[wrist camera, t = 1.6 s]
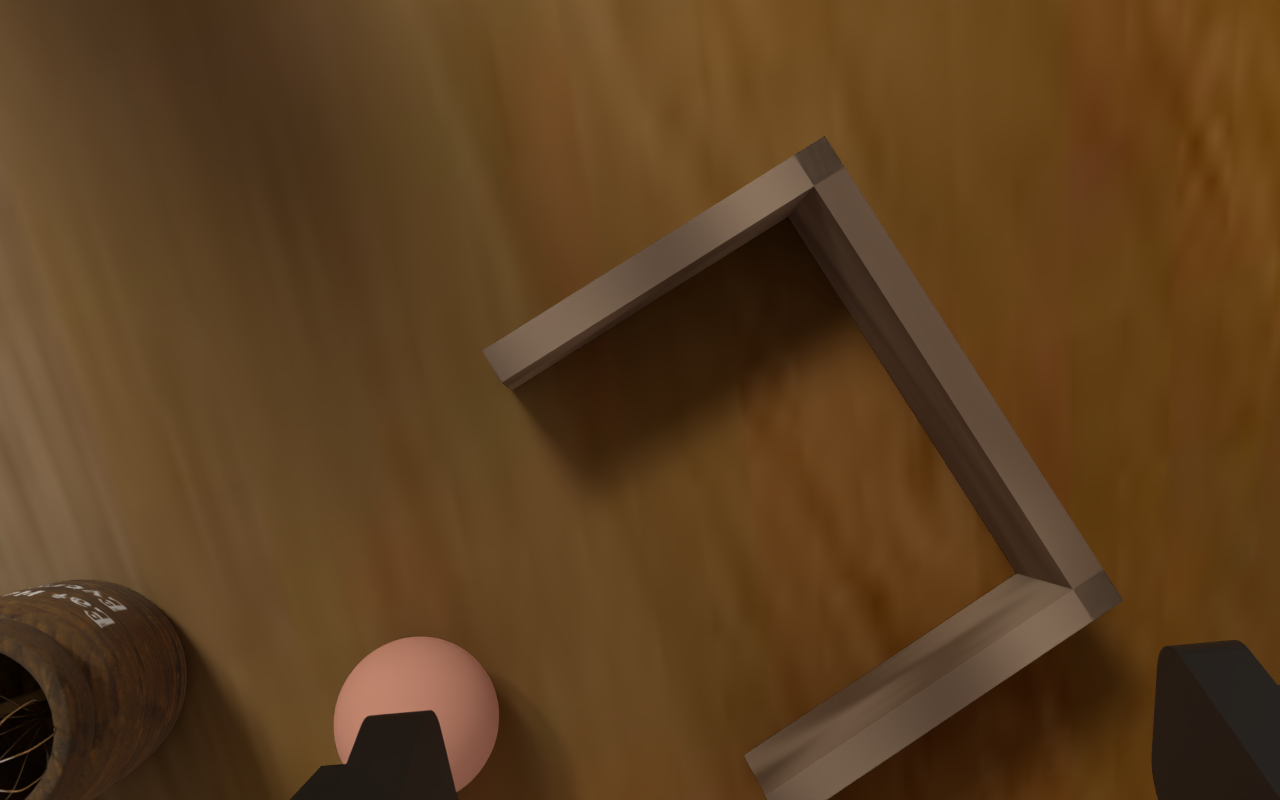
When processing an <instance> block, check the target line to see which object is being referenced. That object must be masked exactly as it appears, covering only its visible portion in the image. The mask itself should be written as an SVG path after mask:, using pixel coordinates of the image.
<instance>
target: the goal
mask: <svg viewBox="0 0 1280 800" xmlns="http://www.w3.org/2000/svg"><path fill="white" fill-rule="evenodd" d="M787 217H788V218H789V219H790V221H791V223H792V224H793V226H794V227H795V229H796V230H797V232H798V233H799V235H800V237H801V238H802V240H803V241H804V243H805V244H806V246H807V247H808V249H809V251H810V252H811V254H812V255H813V257H814V258H815V260H816V261H817V263H818V265H819V266H820V268H821V269H822V271H823V272H824V274H825V275H826V277H827V279H828V280H829V282H830V283H831V285H832V286H833V288H834V290H835V291H836V293H837V294H838V296H839V297H840V299H841V300H842V302H843V304H844V305H845V307H846V308H847V310H848V311H849V313H850V314H851V316H852V318H853V319H854V321H855V322H856V324H857V325H858V327H859V328H860V330H861V332H862V333H863V335H864V336H865V338H866V339H867V341H868V343H869V344H870V346H871V347H872V349H873V350H874V352H875V353H876V355H877V357H878V358H879V360H880V361H881V363H882V364H883V366H884V367H885V369H886V371H887V372H888V374H889V375H890V377H891V378H892V380H893V381H894V383H895V385H896V386H897V388H898V389H899V391H900V392H901V394H902V396H903V397H904V399H905V400H906V402H907V403H908V405H909V406H910V408H911V410H912V411H913V413H914V414H915V416H916V417H917V419H918V420H919V422H920V424H921V425H922V427H923V428H924V430H925V431H926V433H927V434H928V436H929V438H930V439H931V441H932V442H933V444H934V445H935V447H936V448H937V450H938V452H939V453H940V455H941V456H942V458H943V459H944V461H945V463H946V464H947V466H948V467H949V469H950V470H951V472H952V473H953V475H954V477H955V478H956V480H957V481H958V483H959V484H960V486H961V487H962V489H963V491H964V492H965V494H966V495H967V497H968V498H969V500H970V501H971V503H972V505H973V506H974V508H975V509H976V511H977V512H978V514H979V516H980V517H981V519H982V520H983V522H984V523H985V525H986V526H987V528H988V530H989V531H990V533H991V534H992V536H993V537H994V539H995V540H996V542H997V544H998V545H999V547H1000V548H1001V550H1002V551H1003V553H1004V554H1005V556H1006V558H1007V559H1008V561H1009V562H1010V564H1011V565H1012V567H1013V568H1014V570H1015V572H1016V573H1017V574H1015V575H1014V576H1012V577H1011V578H1009V579H1008V580H1006V581H1005V582H1003V583H1002V584H1000V585H999V586H997V587H996V588H994V589H993V590H991V591H990V592H988V593H987V594H985V595H984V596H982V597H981V598H979V599H978V600H976V601H975V602H973V603H972V604H970V605H969V606H967V607H966V608H964V609H963V610H961V611H960V612H958V613H957V614H955V615H954V616H952V617H951V618H949V619H948V620H946V621H945V622H943V623H942V624H940V625H939V626H937V627H936V628H934V629H933V630H931V631H930V632H928V633H927V634H925V635H924V636H922V637H921V638H919V639H918V640H916V641H915V642H913V643H912V644H910V645H909V646H907V647H906V648H904V649H903V650H901V651H900V652H898V653H897V654H895V655H894V656H892V657H891V658H889V659H888V660H886V661H885V662H883V663H882V664H880V665H879V666H877V667H876V668H874V669H873V670H871V671H870V672H868V673H867V674H865V675H864V676H862V677H861V678H859V679H858V680H856V681H855V682H853V683H852V684H850V685H849V686H847V687H846V688H844V689H843V690H841V691H840V692H838V693H837V694H835V695H834V696H832V697H831V698H829V699H828V700H826V701H825V702H823V703H822V704H820V705H819V706H817V707H816V708H814V709H813V710H811V711H810V712H808V713H807V714H805V715H804V716H802V717H801V718H799V719H798V720H796V721H795V722H793V723H792V724H790V725H789V726H787V727H786V728H784V729H782V730H781V731H779V732H778V733H776V734H775V735H773V736H772V737H770V738H769V739H767V740H766V741H764V742H763V743H761V744H760V745H758V746H757V747H755V748H754V749H752V750H751V751H749V752H748V753H746V754H745V755H744V756H745V758H746V760H747V762H748V764H749V766H750V768H751V770H752V772H753V774H754V776H755V778H756V780H757V781H758V783H759V785H760V787H761V789H762V791H763V793H764V795H765V797H766V798H767V800H827V799H829V798H830V797H832V796H833V795H835V794H836V793H838V792H839V791H841V790H842V789H844V788H845V787H846V786H848V785H849V784H851V783H852V782H854V781H855V780H857V779H858V778H860V777H861V776H863V775H864V774H866V773H867V772H869V771H870V770H872V769H873V768H875V767H876V766H878V765H879V764H881V763H882V762H884V761H885V760H887V759H888V758H890V757H891V756H893V755H894V754H896V753H897V752H899V751H900V750H902V749H903V748H904V747H906V746H907V745H909V744H910V743H912V742H913V741H915V740H916V739H918V738H919V737H921V736H922V735H924V734H925V733H927V732H928V731H930V730H931V729H933V728H934V727H936V726H937V725H939V724H940V723H942V722H943V721H945V720H946V719H948V718H949V717H951V716H952V715H954V714H955V713H957V712H958V711H960V710H961V709H962V708H964V707H965V706H967V705H968V704H970V703H971V702H973V701H974V700H976V699H977V698H979V697H980V696H982V695H983V694H985V693H986V692H988V691H989V690H991V689H992V688H994V687H995V686H997V685H998V684H1000V683H1001V682H1003V681H1004V680H1006V679H1007V678H1009V677H1010V676H1012V675H1013V674H1015V673H1016V672H1018V671H1019V670H1020V669H1022V668H1023V667H1025V666H1026V665H1028V664H1029V663H1031V662H1032V661H1034V660H1035V659H1037V658H1038V657H1040V656H1041V655H1043V654H1044V653H1046V652H1047V651H1049V650H1050V649H1052V648H1053V647H1055V646H1056V645H1058V644H1059V643H1061V642H1062V641H1064V640H1065V639H1067V638H1068V637H1070V636H1071V635H1073V634H1074V633H1076V632H1077V631H1078V630H1080V629H1081V628H1083V627H1084V626H1086V625H1087V624H1089V623H1090V622H1092V621H1093V620H1095V619H1096V618H1098V617H1099V616H1101V615H1102V614H1104V613H1105V612H1107V611H1108V610H1110V609H1111V608H1113V607H1114V606H1116V605H1117V604H1119V603H1120V602H1122V601H1123V599H1122V598H1121V596H1120V595H1119V593H1118V592H1117V590H1116V588H1115V587H1114V585H1113V584H1112V582H1111V581H1110V579H1109V578H1108V576H1107V574H1106V573H1105V571H1104V570H1103V568H1102V567H1101V565H1100V564H1099V562H1098V560H1097V559H1096V557H1095V556H1094V554H1093V553H1092V551H1091V550H1090V548H1089V546H1088V545H1087V543H1086V542H1085V540H1084V539H1083V537H1082V536H1081V534H1080V532H1079V531H1078V529H1077V528H1076V526H1075V525H1074V523H1073V522H1072V520H1071V518H1070V517H1069V515H1068V514H1067V512H1066V511H1065V509H1064V508H1063V506H1062V504H1061V503H1060V501H1059V500H1058V498H1057V497H1056V495H1055V494H1054V492H1053V490H1052V489H1051V487H1050V486H1049V484H1048V483H1047V481H1046V480H1045V478H1044V476H1043V475H1042V473H1041V472H1040V470H1039V469H1038V467H1037V466H1036V464H1035V462H1034V461H1033V459H1032V458H1031V456H1030V455H1029V453H1028V452H1027V450H1026V448H1025V447H1024V445H1023V444H1022V442H1021V441H1020V439H1019V438H1018V436H1017V434H1016V433H1015V431H1014V430H1013V428H1012V427H1011V425H1010V424H1009V422H1008V420H1007V419H1006V417H1005V416H1004V414H1003V413H1002V411H1001V410H1000V408H999V406H998V405H997V403H996V402H995V400H994V399H993V397H992V396H991V394H990V392H989V391H988V389H987V388H986V386H985V385H984V383H983V382H982V380H981V378H980V377H979V375H978V374H977V372H976V371H975V369H974V368H973V366H972V364H971V363H970V361H969V360H968V358H967V357H966V355H965V354H964V352H963V351H962V349H961V347H960V346H959V344H958V343H957V341H956V340H955V338H954V337H953V335H952V333H951V332H950V330H949V329H948V327H947V326H946V324H945V323H944V321H943V319H942V318H941V316H940V315H939V313H938V312H937V310H936V309H935V307H934V305H933V304H932V302H931V301H930V299H929V298H928V296H927V295H926V293H925V291H924V290H923V288H922V287H921V285H920V284H919V282H918V281H917V279H916V277H915V276H914V274H913V273H912V271H911V270H910V268H909V267H908V265H907V263H906V262H905V260H904V259H903V257H902V256H901V254H900V253H899V251H898V249H897V248H896V246H895V245H894V243H893V242H892V240H891V239H890V237H889V235H888V234H887V232H886V231H885V229H884V228H883V226H882V225H881V223H880V221H879V220H878V218H877V217H876V215H875V214H874V212H873V211H872V209H871V207H870V206H869V204H868V203H867V201H866V200H865V198H864V197H863V195H862V193H861V192H860V190H859V189H858V187H857V186H856V184H855V183H854V181H853V179H852V178H851V176H850V175H849V173H848V172H847V170H846V169H845V167H844V165H843V164H842V162H841V161H840V159H839V158H838V156H837V155H836V153H835V151H834V150H833V148H832V147H831V145H830V144H829V142H828V141H827V139H826V137H825V136H824V137H822V138H821V139H819V140H818V141H816V142H814V143H813V144H811V145H810V146H808V147H806V148H805V149H803V150H802V151H800V152H798V153H797V154H795V155H794V156H792V157H790V158H789V159H787V160H786V161H784V162H783V163H781V164H779V165H778V166H776V167H775V168H773V169H771V170H770V171H768V172H767V173H765V174H763V175H762V176H760V177H759V178H757V179H755V180H754V181H752V182H751V183H749V184H747V185H746V186H744V187H743V188H741V189H739V190H738V191H736V192H735V193H733V194H731V195H730V196H728V197H727V198H725V199H723V200H722V201H720V202H719V203H717V204H715V205H714V206H712V207H711V208H709V209H707V210H706V211H704V212H703V213H701V214H699V215H698V216H696V217H695V218H693V219H691V220H690V221H688V222H687V223H685V224H684V225H682V226H680V227H679V228H677V229H676V230H674V231H672V232H671V233H669V234H668V235H666V236H664V237H663V238H661V239H660V240H658V241H656V242H655V243H653V244H652V245H650V246H648V247H647V248H645V249H644V250H642V251H640V252H639V253H637V254H636V255H634V256H632V257H631V258H629V259H628V260H626V261H624V262H623V263H621V264H620V265H618V266H616V267H615V268H613V269H612V270H610V271H608V272H607V273H605V274H604V275H602V276H600V277H599V278H597V279H596V280H594V281H593V282H591V283H589V284H588V285H586V286H585V287H583V288H581V289H580V290H578V291H577V292H575V293H573V294H572V295H570V296H569V297H567V298H565V299H564V300H562V301H561V302H559V303H557V304H556V305H554V306H553V307H551V308H549V309H548V310H546V311H545V312H543V313H541V314H540V315H538V316H537V317H535V318H533V319H532V320H530V321H529V322H527V323H525V324H524V325H522V326H521V327H519V328H517V329H516V330H514V331H513V332H511V333H509V334H508V335H506V336H505V337H503V338H502V339H500V340H498V341H497V342H495V343H494V344H492V345H490V346H489V347H487V348H486V349H484V350H482V352H483V353H484V355H485V356H486V358H487V359H488V361H489V363H490V364H491V366H492V367H493V369H494V370H495V372H496V374H497V375H498V377H499V378H500V380H501V381H502V383H503V384H505V385H506V386H507V387H508V388H509V389H511V390H514V389H515V388H517V387H518V386H520V385H522V384H523V383H525V382H526V381H528V380H530V379H531V378H533V377H534V376H536V375H537V374H539V373H541V372H542V371H544V370H545V369H547V368H549V367H550V366H552V365H553V364H555V363H557V362H558V361H560V360H561V359H563V358H564V357H566V356H568V355H569V354H571V353H572V352H574V351H576V350H577V349H579V348H580V347H582V346H583V345H585V344H587V343H588V342H590V341H591V340H593V339H595V338H596V337H598V336H599V335H601V334H603V333H604V332H606V331H607V330H609V329H610V328H612V327H614V326H615V325H617V324H618V323H620V322H622V321H623V320H625V319H626V318H628V317H630V316H631V315H633V314H634V313H636V312H637V311H639V310H641V309H642V308H644V307H645V306H647V305H649V304H650V303H652V302H653V301H655V300H656V299H658V298H660V297H661V296H663V295H664V294H666V293H668V292H669V291H671V290H672V289H674V288H676V287H677V286H679V285H680V284H682V283H683V282H685V281H687V280H688V279H690V278H691V277H693V276H695V275H696V274H698V273H699V272H701V271H702V270H704V269H706V268H707V267H709V266H710V265H712V264H714V263H715V262H717V261H718V260H720V259H722V258H723V257H725V256H726V255H728V254H729V253H731V252H733V251H734V250H736V249H737V248H739V247H741V246H742V245H744V244H745V243H747V242H748V241H750V240H752V239H753V238H755V237H756V236H758V235H760V234H761V233H763V232H764V231H766V230H768V229H769V228H771V227H772V226H774V225H775V224H777V223H779V222H780V221H782V220H783V219H785V218H787Z"/></svg>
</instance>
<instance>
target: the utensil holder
mask: <svg viewBox="0 0 1280 800" xmlns="http://www.w3.org/2000/svg"><path fill="white" fill-rule="evenodd" d="M186 686H187V666H186V659H185V654H184V650H183V647H182V644H181V641H180V639H179V636H178V634H177V632H176V630H175V629H174V627H173V625H172V624H171V622H170V621H169V620H168V618H167V617H166V616H165V615H164V613H163V612H162V611H161V610H160V609H159V608H158V607H157V606H156V605H155V604H153V603H152V602H151V601H150V600H148V599H147V598H145V597H144V596H142V595H141V594H139V593H137V592H135V591H133V590H131V589H129V588H126V587H124V586H121V585H118V584H114V583H110V582H105V581H98V580H71V581H63V582H57V583H52V584H47V585H42V586H38V587H34V588H29V589H25V590H21V591H17V592H14V593H10V594H6V595H3V596H0V800H92V799H94V798H96V797H97V796H98V795H100V794H101V793H103V792H104V791H106V790H107V789H109V788H110V787H112V786H113V785H114V784H116V783H117V782H119V781H120V780H122V779H123V778H124V777H126V776H127V775H128V774H130V773H131V772H132V771H134V770H135V769H136V768H137V767H139V766H140V765H141V764H142V763H144V762H145V761H146V760H147V759H148V758H149V757H150V756H151V755H152V754H153V753H154V752H155V751H156V750H157V749H158V748H159V747H160V745H161V744H162V743H163V742H164V740H165V739H166V738H167V736H168V735H169V733H170V732H171V730H172V729H173V727H174V725H175V723H176V721H177V719H178V717H179V714H180V712H181V709H182V706H183V702H184V699H185V694H186Z"/></svg>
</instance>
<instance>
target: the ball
mask: <svg viewBox="0 0 1280 800" xmlns="http://www.w3.org/2000/svg"><path fill="white" fill-rule="evenodd" d="M425 710H432V711H434V712H435V714H436V716H437V718H438V720H439V723H440V727H441V731H442V735H443V739H444V743H445V747H446V752H447V756H448V760H449V764H450V768H451V772H452V777H453V781H454V785H455V789H456V792H458V791H459V790H461V789H462V788H464V787H465V786H466V785H467V784H469V783H470V782H471V781H472V780H473V779H474V778H475V777H476V776H477V774H478V773H479V772H480V771H481V769H482V768H483V767H484V765H485V763H486V761H487V760H488V758H489V756H490V754H491V752H492V750H493V747H494V745H495V741H496V738H497V733H498V726H499V706H498V699H497V696H496V692H495V689H494V686H493V684H492V681H491V679H490V678H489V676H488V674H487V672H486V671H485V669H484V668H483V667H482V666H481V664H480V663H479V662H478V661H477V660H476V659H475V658H474V657H473V656H472V655H471V654H469V653H468V652H467V651H465V650H464V649H462V648H461V647H459V646H457V645H455V644H453V643H451V642H448V641H446V640H442V639H438V638H433V637H408V638H403V639H399V640H395V641H393V642H390V643H388V644H385V645H383V646H381V647H380V648H378V649H376V650H375V651H373V652H372V653H370V654H369V655H368V656H366V657H365V658H364V659H363V660H362V661H361V662H360V663H359V664H358V665H357V666H356V667H355V668H354V670H353V671H352V672H351V674H350V675H349V676H348V678H347V680H346V682H345V683H344V685H343V687H342V689H341V691H340V694H339V696H338V700H337V703H336V707H335V714H334V737H335V743H336V747H337V751H338V754H339V756H340V759H341V761H342V763H343V764H346V763H347V761H348V758H349V756H350V753H351V750H352V748H353V745H354V742H355V740H356V737H357V735H358V732H359V729H360V727H361V724H362V722H363V720H364V719H365V718H366V717H367V716H370V715H381V714H392V713H403V712H414V711H425Z"/></svg>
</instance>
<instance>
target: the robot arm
mask: <svg viewBox="0 0 1280 800" xmlns="http://www.w3.org/2000/svg"><path fill="white" fill-rule="evenodd" d="M1152 773H1153V780H1154V785H1155V789H1156V794H1157V797H1158V800H1280V685H1277V684H1276V683H1275V681H1274V680H1273V679H1272V678H1271V676H1270V675H1269V674H1268V673H1267V671H1266V670H1265V669H1264V668H1263V666H1262V665H1261V664H1260V663H1259V661H1258V660H1257V659H1256V658H1255V656H1254V655H1253V654H1252V653H1251V652H1250V650H1249V649H1248V648H1247V647H1246V646H1245V645H1244V644H1243V643H1241V642H1240V641H1237V640H1229V641H1218V642H1207V643H1196V644H1185V645H1173V646H1165V647H1163V649H1162V650H1161V652H1160V654H1159V658H1158V664H1157V678H1156V694H1155V710H1154V726H1153V742H1152ZM290 800H458V797H457V793H456V789H455V785H454V781H453V777H452V772H451V768H450V764H449V760H448V756H447V752H446V747H445V743H444V739H443V735H442V731H441V727H440V723H439V720H438V718H437V716H436V714H435V712H434V711H432V710H425V711H414V712H403V713H392V714H381V715H370V716H367V717H366V718H365V719H364V720H363V722H362V724H361V727H360V729H359V732H358V735H357V737H356V740H355V742H354V745H353V748H352V750H351V753H350V756H349V758H348V761H347V763H346V764H339V765H327V766H321V767H320V768H319V769H318V770H317V771H316V772H315V773H314V774H313V776H312V777H311V778H310V779H309V780H308V781H307V782H306V783H305V784H304V785H303V786H302V787H301V788H300V790H299V791H298V792H297V793H296V794H295V795H294V796H293V797H292V798H291V799H290Z"/></svg>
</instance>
